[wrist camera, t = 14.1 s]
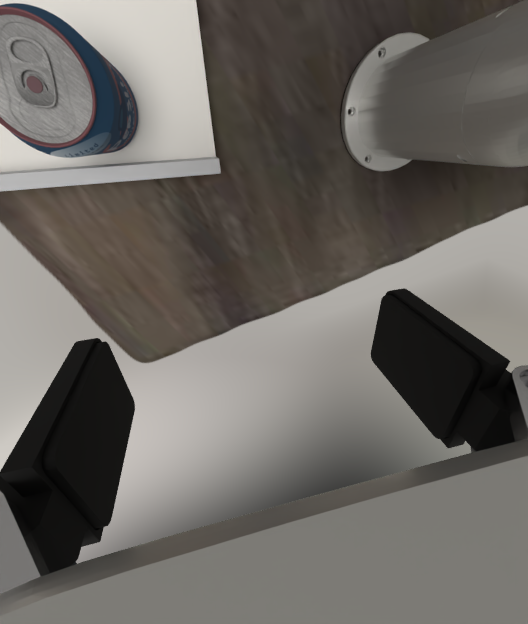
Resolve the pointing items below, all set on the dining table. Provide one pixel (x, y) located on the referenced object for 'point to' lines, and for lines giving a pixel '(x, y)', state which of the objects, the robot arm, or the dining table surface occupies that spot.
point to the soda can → (60, 87)
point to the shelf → (147, 91)
